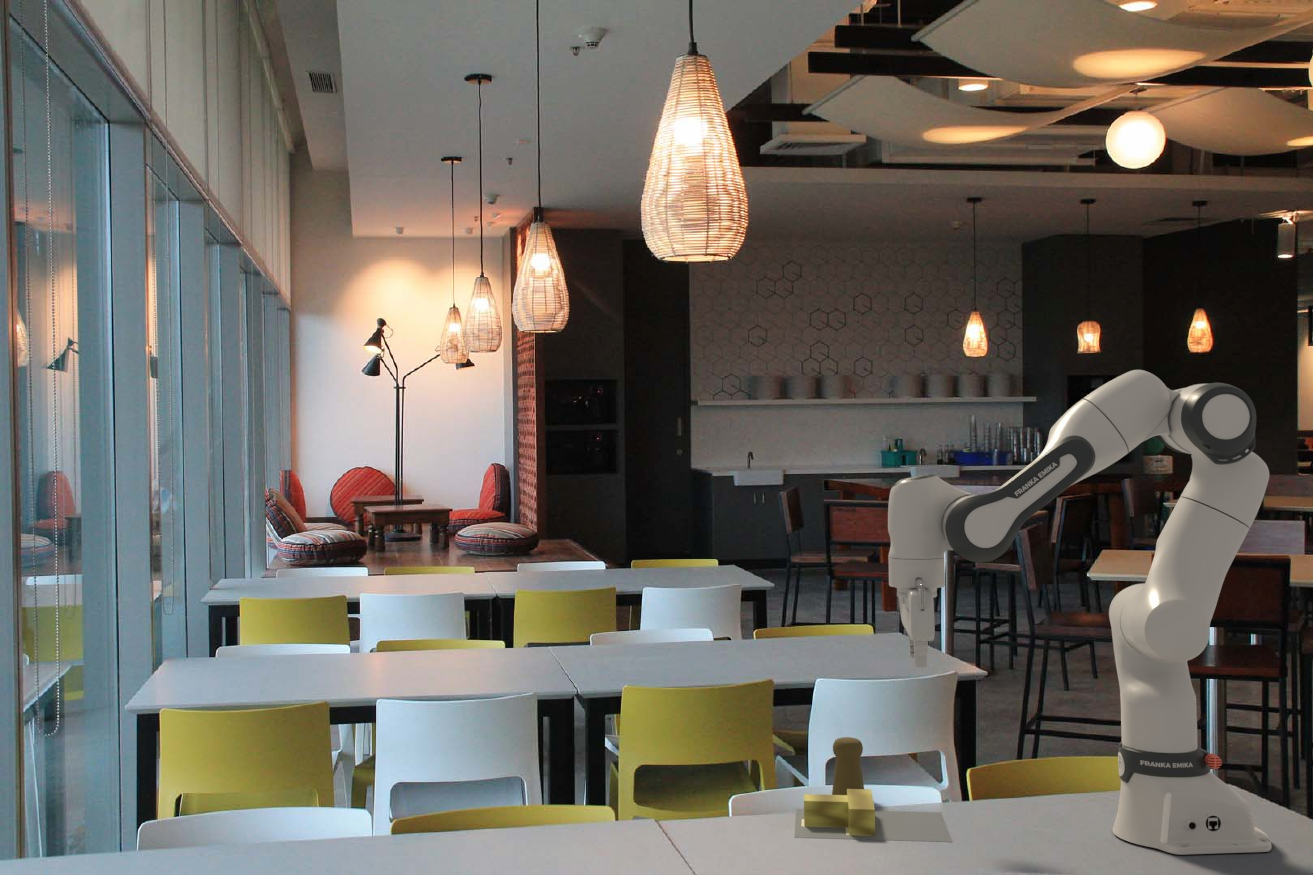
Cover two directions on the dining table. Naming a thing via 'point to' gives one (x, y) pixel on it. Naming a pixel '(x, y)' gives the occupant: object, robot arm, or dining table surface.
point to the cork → (847, 765)
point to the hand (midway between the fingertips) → (918, 661)
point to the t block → (842, 811)
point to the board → (884, 827)
